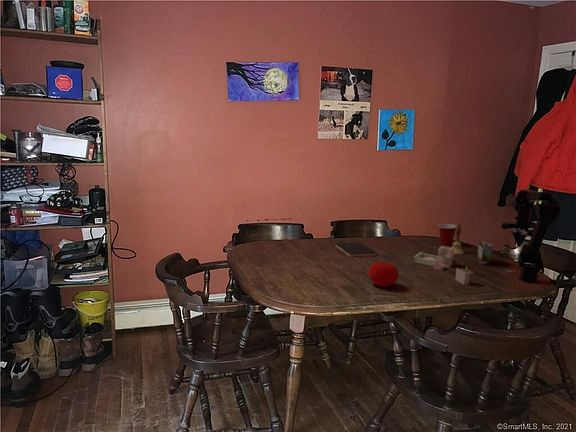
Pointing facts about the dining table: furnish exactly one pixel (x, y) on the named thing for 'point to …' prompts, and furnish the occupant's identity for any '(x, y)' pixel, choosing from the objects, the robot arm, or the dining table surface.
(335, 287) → the dining table surface
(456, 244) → the hand bell
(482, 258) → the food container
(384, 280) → the tomato
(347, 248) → the hardcover book
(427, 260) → the channel
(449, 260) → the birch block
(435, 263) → the trap bays
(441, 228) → the plastic cup
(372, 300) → the dining table surface
